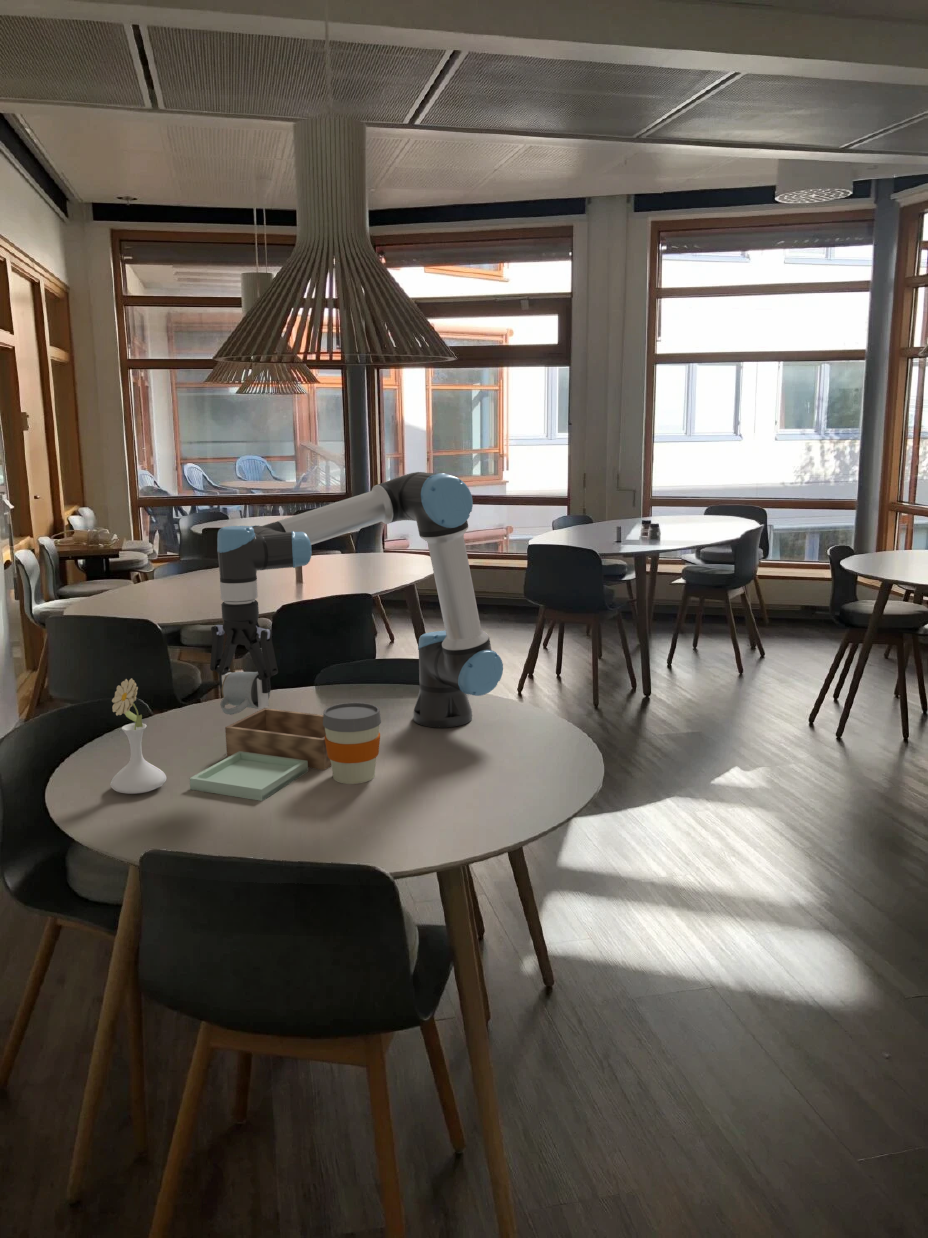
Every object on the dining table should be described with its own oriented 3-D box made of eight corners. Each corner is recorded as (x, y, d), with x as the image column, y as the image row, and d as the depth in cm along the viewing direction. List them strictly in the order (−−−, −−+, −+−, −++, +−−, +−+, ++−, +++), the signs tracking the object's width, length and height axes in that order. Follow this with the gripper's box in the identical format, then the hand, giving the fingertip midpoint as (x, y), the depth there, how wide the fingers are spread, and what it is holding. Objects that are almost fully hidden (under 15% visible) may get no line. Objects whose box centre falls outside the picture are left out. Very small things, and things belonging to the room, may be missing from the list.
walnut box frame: (358, 747, 232) (357, 719, 231) (324, 770, 218) (323, 740, 216) (265, 735, 242) (264, 708, 241) (227, 756, 228) (225, 727, 226)
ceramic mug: (240, 699, 214) (237, 665, 212) (272, 702, 211) (270, 668, 209) (211, 713, 205) (208, 678, 203) (244, 717, 202) (241, 682, 200)
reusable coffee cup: (358, 762, 223) (356, 698, 220) (394, 776, 214) (392, 710, 211) (313, 776, 214) (310, 711, 211) (349, 791, 205) (346, 723, 202)
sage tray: (308, 771, 217) (307, 760, 217) (262, 801, 201) (261, 789, 200) (240, 761, 224) (239, 751, 223) (190, 789, 208) (189, 778, 207)
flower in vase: (109, 783, 212) (98, 671, 206) (163, 775, 216) (155, 665, 211) (113, 805, 200) (102, 687, 195) (171, 796, 204) (162, 680, 199)
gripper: (292, 600, 204) (297, 705, 208) (209, 594, 212) (216, 695, 216) (272, 607, 197) (278, 715, 202) (187, 600, 205) (194, 705, 210)
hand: (246, 705), depth 209 cm, fingers closed on ceramic mug, 8 cm apart
